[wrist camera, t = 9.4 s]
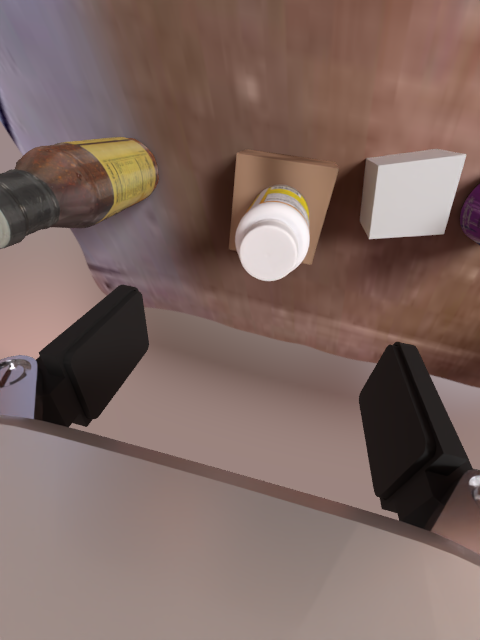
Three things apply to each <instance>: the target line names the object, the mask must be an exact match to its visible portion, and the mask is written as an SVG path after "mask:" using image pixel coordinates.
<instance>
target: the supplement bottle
mask: <svg viewBox="0 0 480 640" xmlns="http://www.w3.org/2000/svg"><path fill="white" fill-rule="evenodd" d="M309 242H310V233H309V209H308V205H307V202H306V200H305V198H304V197H303V195H302V194H301V193H300V192H299V191H298V190H296V189H295V188H293V187H290V186H287V185H274V186H271V187H269V188H267V189H265V190H263V191H262V192H261V193H260V194H259V195H258V196H257V197H256V199H255V200H254V202H253V203H252V205H251V206H250V207H249V209H248V210H247V212H246V213H245V215H244V216H243V217H242V219H241V221H240V223H239V225H238V227H237V230H236V235H235V245H236V250H237V253H238V255H239V257H240V261H241V263H242V265H243V267H244V269H245V270H246V271H247V272H248V273H249V274H250V275H251V276H253V277H255V278H257V279H259V280H263V281H274V280H278V279H281V278H283V277H284V276H286V275H287V274H288V273H289V272H291V271H293V270H294V269H295V268H297V267H298V266H299V265H300V263H301V262H302V261H303V260H304V258H305V256H306V254H307V251H308V248H309Z"/></svg>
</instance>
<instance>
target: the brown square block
mask: <svg viewBox="0 0 480 640" xmlns="http://www.w3.org/2000/svg"><path fill="white" fill-rule="evenodd" d="M338 171H339V167H338V166H337V165H336V163H335V162H332V161H325V160H318V159H311V158H304V157H297V156H291V155H284V154H277V153H270V152H263V151H256V150H249V149H246V150H244V151H241V152H239V153H237V156H236V168H235V180H234V192H233V204H232V216H231V228H230V240H229V250H234V251H237V250H236V245H235V235H236V230H237V227H238V225H239V223H240V221H241V219H242V217H243V216H244V215H245V213H246V212H247V210H248V209H249V207H250V206H251V205H252V203H253V202H254V200H255V199H256V197H257V196H258V195H259V194H260V193H261V192H262V191H263V190H265V189H267V188H269V187H271V186H274V185H287V186H290V187H293V188H295V189H296V190H298V191H299V192H300V193H301V194H302V195H303V197H304V198H305V200H306V202H307V205H308V209H309V233H310V242H309V248H308V251H307V254H306V256H305V258H304V260H303V261H302V262H301V263H305V264H310V265H311V264H312V261H313V257H314V254H315V250H316V247H317V243H318V240H319V236H320V233H321V229H322V226H323V222H324V219H325V216H326V212H327V209H328V205H329V202H330V198H331V195H332V191H333V188H334V184H335V181H336V177H337V174H338Z"/></svg>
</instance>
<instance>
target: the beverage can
mask: <svg viewBox="0 0 480 640" xmlns="http://www.w3.org/2000/svg"><path fill="white" fill-rule="evenodd" d="M460 224H461V228H462V230H463V232H464V233H465V234H466V235H467V236H468V237H469V238H471V239H472V240H473V241H475V242H476V243H478V244H479V245H480V184H479V185H478V186H477V187H476V188H475V189H474V190H473V191H472V192H471V193H470V195H469V196H468V198H467V199H466V201H465V203H464V205H463V207H462V210H461V214H460Z"/></svg>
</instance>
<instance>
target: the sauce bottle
mask: <svg viewBox="0 0 480 640" xmlns="http://www.w3.org/2000/svg"><path fill="white" fill-rule="evenodd" d="M158 180H159V177H158V167H157V163H156V160H155V157H154V155H153V154H152V153H151V152H150V150H149V149H148V148H147V147H145V146H144V145H143V144H142V143H140V142H139V141H137V140H136V139H132V138H124V137H115V138H103V139H93V140H83V141H73V142H63V143H57V144H55V145H50V146H40V147H36V148H34V149H32V150H30V151H28V152H27V153H26V154H25V155H24V156H23V157H22V158H21V159H20V160H18V162H17V163H16V167H15V169H14V170H9V171H7V172H5V173H2V174H0V249H1V248H6V247H8V246H11V245H14V244H16V243H19V242H21V241H22V240H23V239H24V238H25V236H26V235H29V234H31V233H34V232H36V231H38V230H41V229H47V228H49V227H62V228H64V227H65V228H86V227H90V226H93V225H95V224H97V223H99V222H101V221H103V220H105V219H106V218H109V217H111V216H113V215H115V214H117V213H118V212H120V211H122V210H124V209H126V208H128V207H130V206H132V205H134V204H136V203H138V202H140V201H142V200H143V199H145V198H147V197H148V196H149V195H150V194H151V193H152V191H153V190H154V189H155V187H156V185H157V183H158Z"/></svg>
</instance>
